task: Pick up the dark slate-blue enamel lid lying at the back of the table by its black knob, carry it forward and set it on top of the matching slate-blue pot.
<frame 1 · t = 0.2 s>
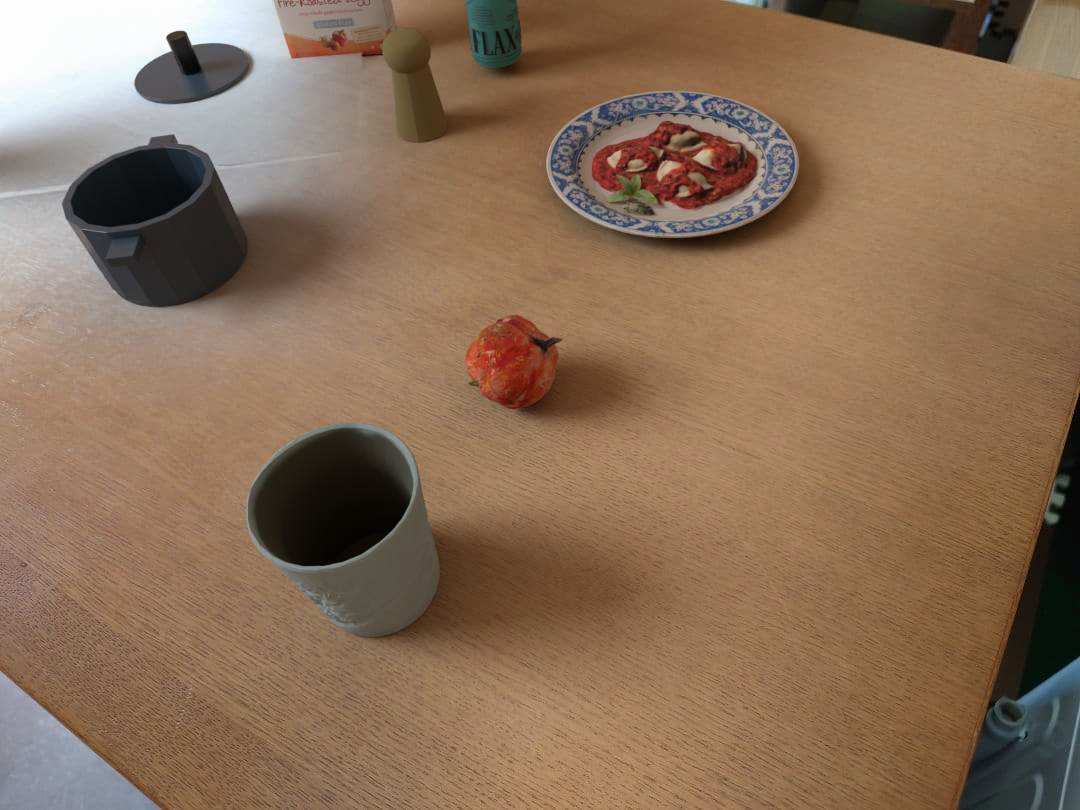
pomegranate: (514, 391, 65), on the table
pot: (180, 260, 79), on the table
lid: (193, 73, 102), point 1 cm above the table
grey green cup: (380, 584, 55), on the table
beverage bottle: (499, 68, 99), on the table
ceramic plate: (668, 175, 82), on the table
olive peg figure: (422, 129, 91), on the table
cracker box: (346, 50, 105), on the table
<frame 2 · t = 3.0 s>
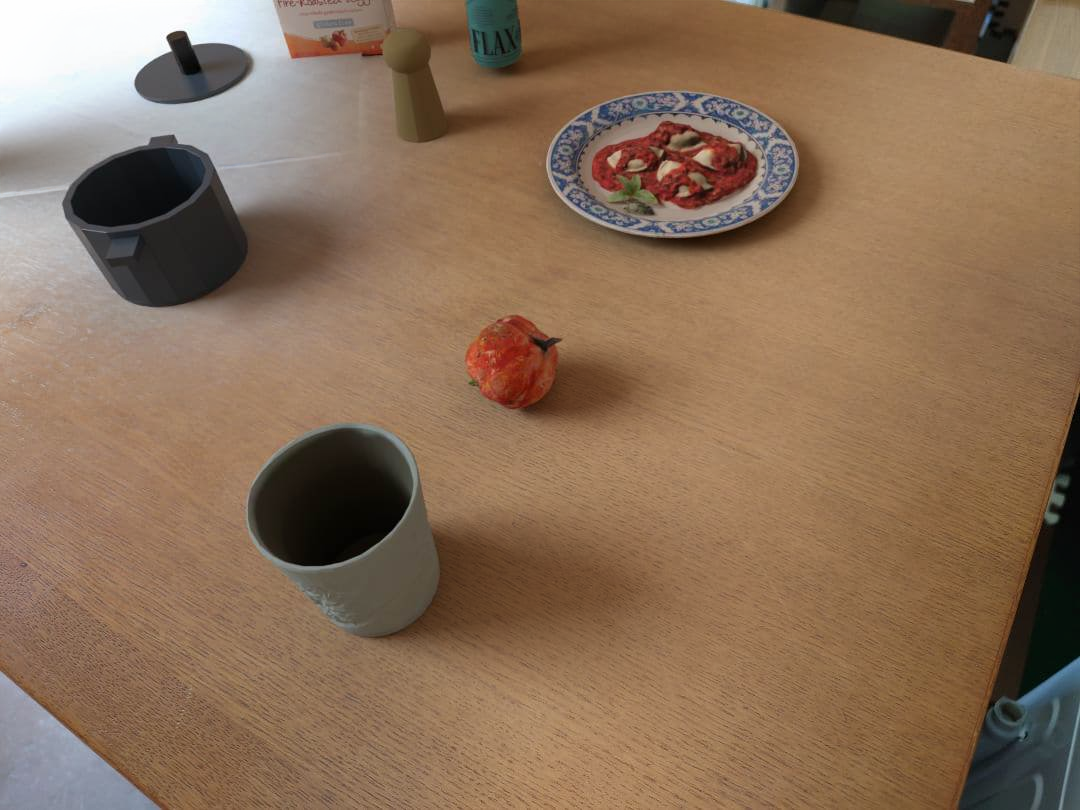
nothing on the table moved.
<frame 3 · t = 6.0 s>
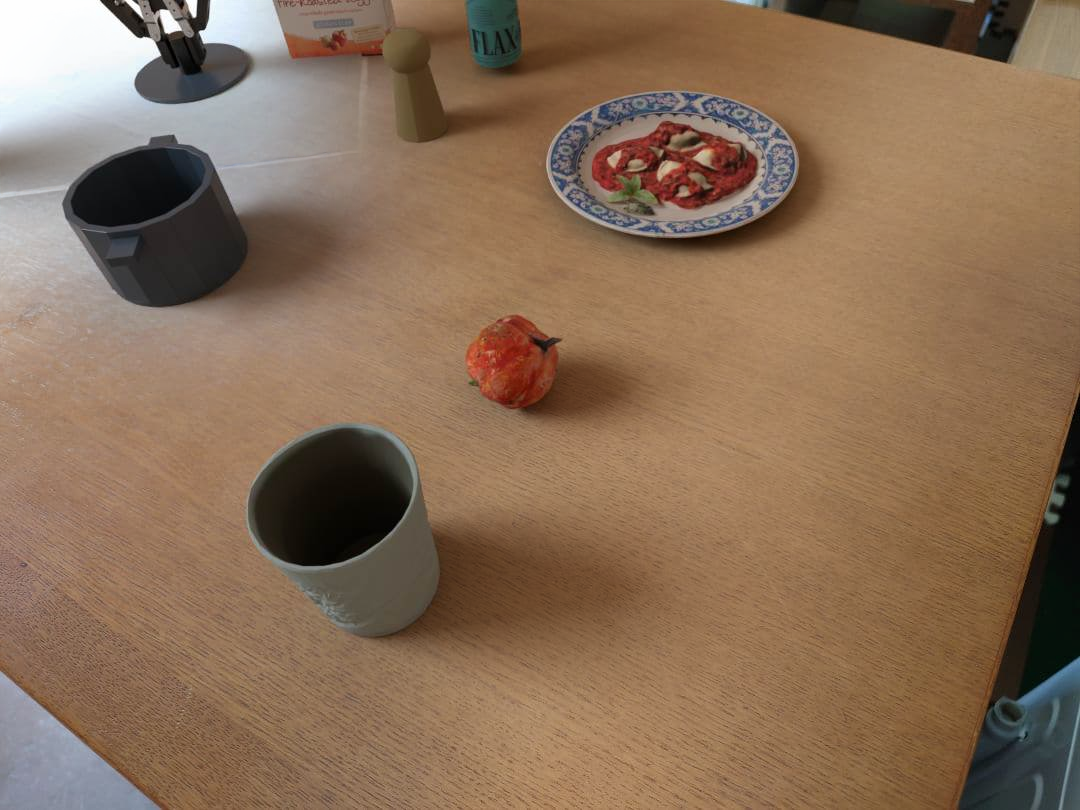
hand: (188, 63, 101), 2 cm above the table, tool pointing down, fingers closed on lid, 2 cm apart
lid: (193, 73, 102), point 1 cm above the table, touching gripper
everything else where it was.
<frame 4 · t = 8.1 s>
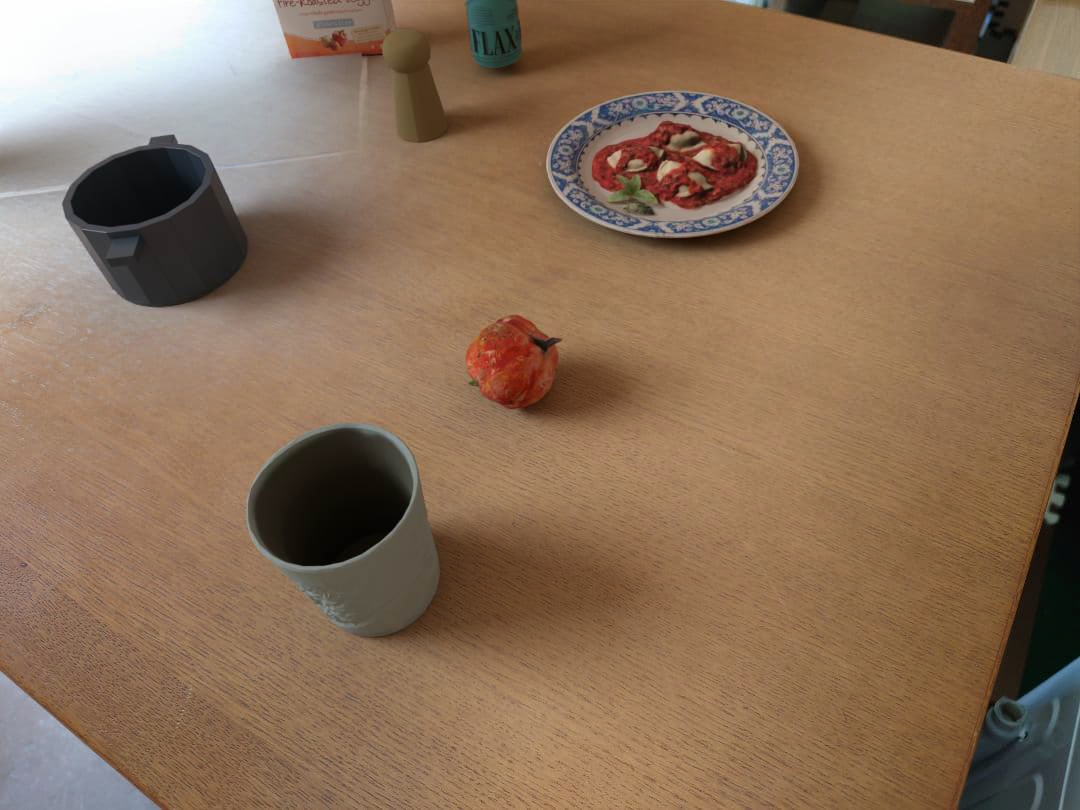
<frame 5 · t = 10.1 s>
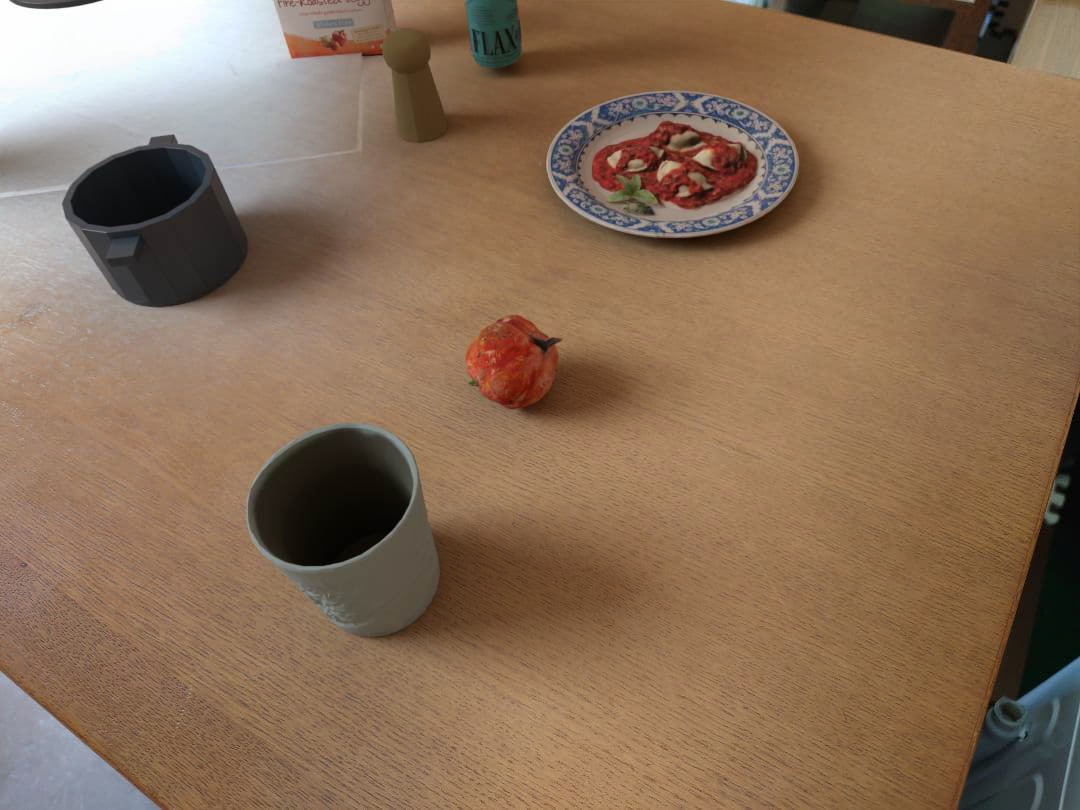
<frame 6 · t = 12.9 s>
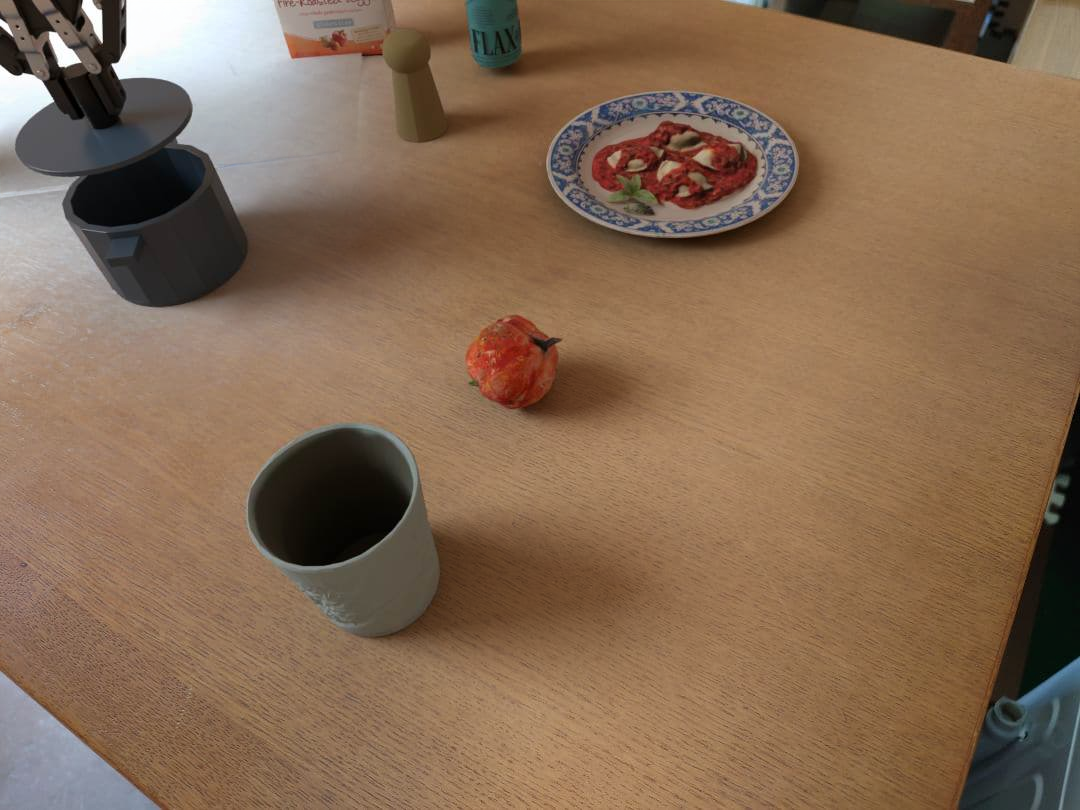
hand: (98, 111, 66), 16 cm above the table, tool pointing down, fingers closed on lid, 2 cm apart
lid: (107, 126, 67), point 15 cm above the table, touching gripper
everything else where it was.
when the fingers open (10 cm above the table, at t = 14.6 s): lid stays where it is, resting on pot.
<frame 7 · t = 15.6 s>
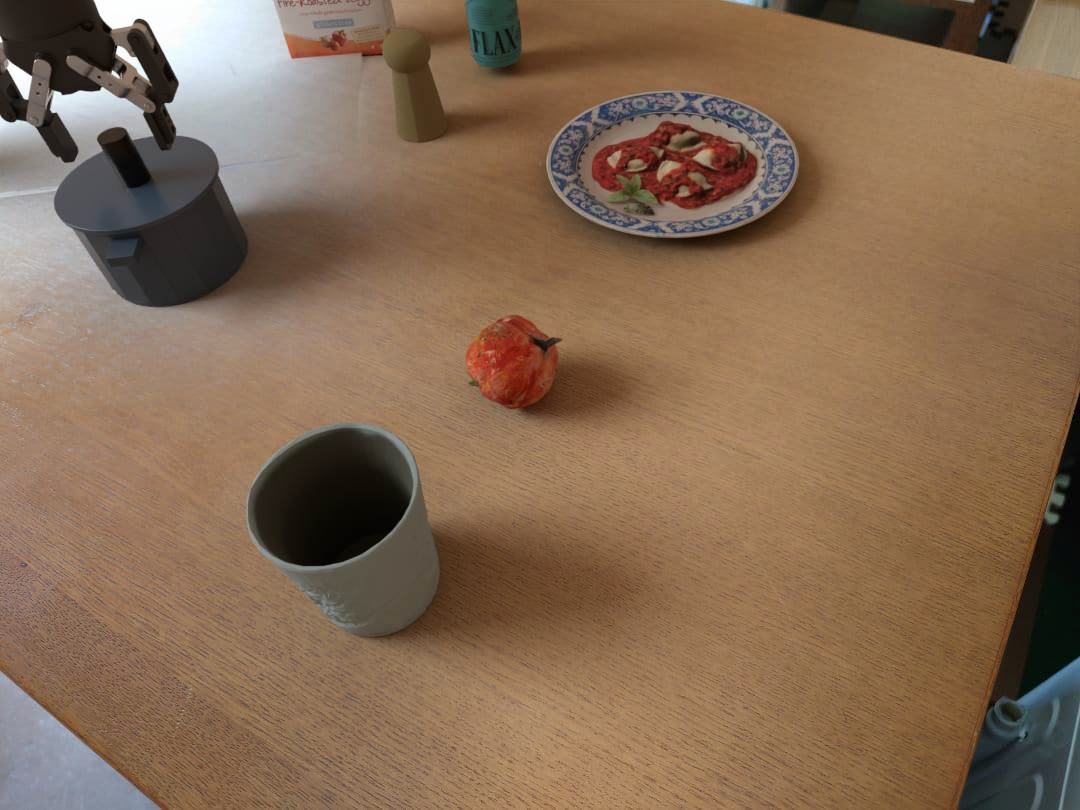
hand: (120, 151, 69), 12 cm above the table, tool pointing down, fingers open, 8 cm apart
lid: (139, 184, 72), point 9 cm above the table, touching pot
everything else where it was.
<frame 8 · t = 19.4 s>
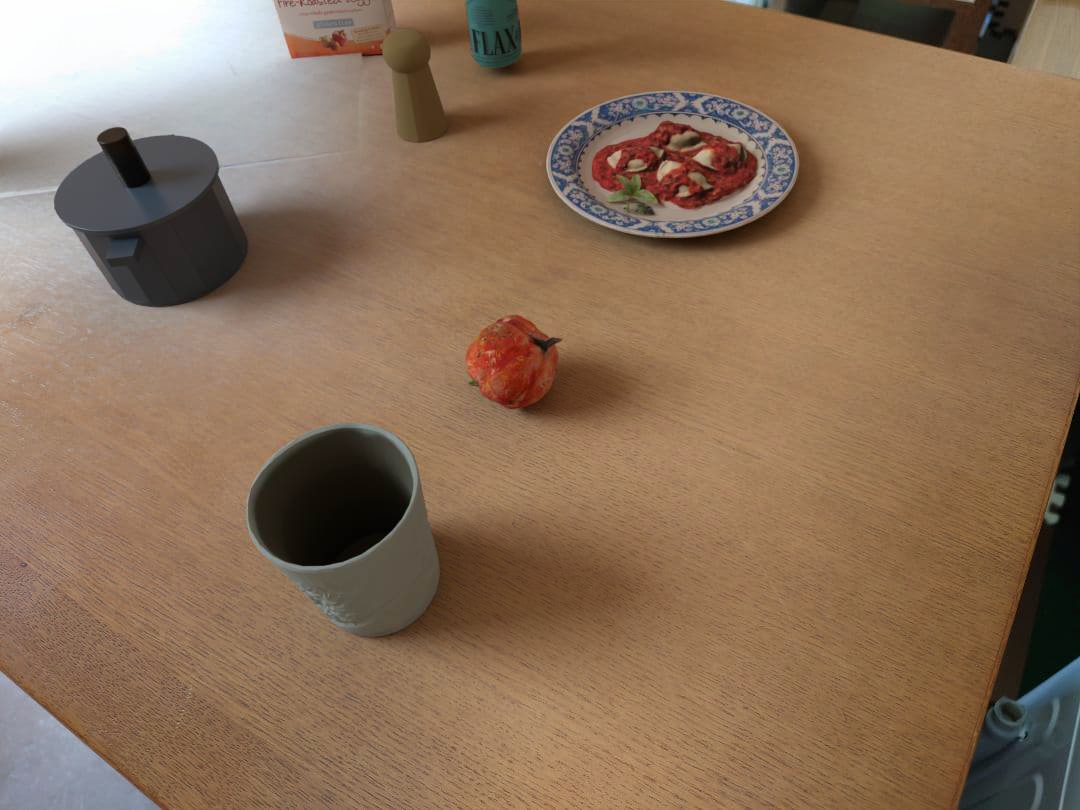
nothing on the table moved.
at the end: lid 0.1 cm off-centre on the pot, point 9.0 cm above the pot's base; lid tilted 0° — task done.
